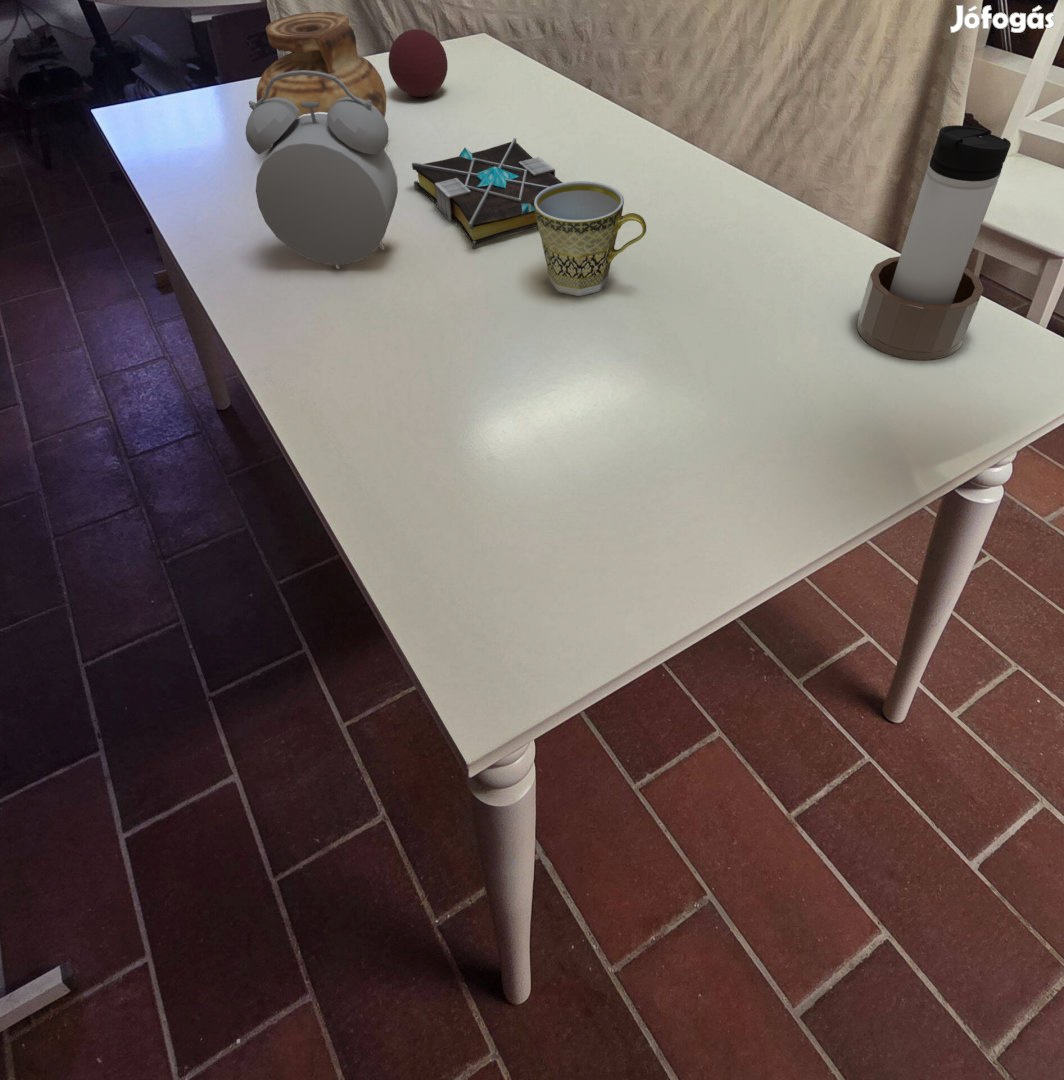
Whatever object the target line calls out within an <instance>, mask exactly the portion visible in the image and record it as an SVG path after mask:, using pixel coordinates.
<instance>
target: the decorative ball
mask: <svg viewBox="0 0 1064 1080" xmlns="http://www.w3.org/2000/svg"><path fill="white" fill-rule="evenodd" d="M448 65H449V64H448V57H447V53H446V51H445V48H444V46H443V44H442V43H441V41H440V40H439V39H438V38H437V37H436V36H435V35H433V34H432V33H431V32H429V31H426V30H424V29H420V28H419V29H417V28H412V29H409V30H405V31H404V32H402V33H401V34H398V36H397V37H396V38H395V40H394V41H393V43H392V44H391V47H390V49H389V52H388V69H389V74H390V75H391V78H392V80H393V82H394V83H395V85H396V87H398V88H399V89H400V91H403V93H405V94H407V95H409V96H412V97H415V98H424V97H429V96H431V95H433V94H434V93H436V92H437V91H439V89H441V87H442V86H443V84H444V82H445V80H446V77H447V74H448V67H449V66H448Z"/></svg>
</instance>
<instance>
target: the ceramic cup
mask: <svg viewBox="0 0 1064 1080" xmlns="http://www.w3.org/2000/svg"><path fill="white" fill-rule="evenodd" d="M624 203H625V199H624V196H623V194H622V193H621V192H620V191H619V190H618V189H617V188H614V187H613V186H611V185H608V184H606V183H601V182H597V181H590V180H589V181H588V180H574V181H567V182H566V181H564V182H563V183H560V184H556V185H553V186H550V187H548V188H546V189H544V190H543V191H541V192H540V193H539V194H538V195H537V196H536V198H535V201H534V207H535V214H536V219H537V224H538V227H537V229H538V233H539V236H540V240H541V243H542V249H543V255H544V259H545V263H546V268H547V269H546V270H547V273H548V277H549V282H550V284H552V286H553V287H554V288H555V289H556V291H557V292H558V293H561V294H565V295H566V294H567V295H572V296H576V297H583V296H586V295H590V294H594V293H599V292H601V290H603V288H604V287H605V285H606V284H607V283H608V279H609V273H610V269H611V264H612V262H613V260H614V259H615V257H616V256H617V255H619V254H621V253H622V252H624V251H625V250H626V249H627V248H629V247H630V246H631V245H634V244H635V243H637V242H639V241H640V240H642V239H643V237H644V236H645V235H646V232H647V222H646V221H645V219H644V217H643V216H642V215H640V214H638V213H635V212H629V213H626V214H624V215H623V210H624ZM631 221H633V222H636V223H639V224H640V225H641V229H642V231H641V233H640V234H639V235H638V236H637V237H635V238H632V239H631V240H629V241H627V242H626V243H625V244H623V245H622V246H621V247H620V248H618V249H616V248H615V246H616V241H617V237H618V233H619V231H620V229H621V228H622V226H623V225H624V224H625V223H628V222H631Z"/></svg>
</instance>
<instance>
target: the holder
mask: <svg viewBox="0 0 1064 1080" xmlns="http://www.w3.org/2000/svg"><path fill="white" fill-rule="evenodd" d="M899 258H900V255H898V256H893V257H889V258H888V257H887V258H886V259H884V260H882V261H880V262H879V263H877V264H875V266H874V267H873V269H872V270H871V272H870V274H869V277H868V281H867V284H866V287H865V291H864V294H863V299H862V301H861V306H860V309H859V313H858V319H857V323H856V327H857V331H858V333H859V335H860V337H861V338H862V339H863V340H864V342H866V343H867V344H868V345H870V346H871V347H873V348H874V349H876V350H877V351H880V352H882V353H885V354H887V355H889V356H892V357H896V358H901V359H905V360H911V361H912V360H913V361H933V360H938V359H942V358H945V357H948V356H950V355H953V354H954V353H955V352H957V351H958V349H959V348H960V347H961V346H962V344H963V341H964V339H965V336H966V334H967V332H968V329H969V327H970V324H971V322H972V320H973V317H974V315H975V312H976V309H977V307H978V305H979V302H980V300H981V297H982V294H983V292H984V291H985V290H984V289H985V288H984V286H983V284H982V282H981V280H980V277H978V276H977V275H976V274H974V272H972V271H971V270H970V269H969V268H967V267H966V268H965V270H964V273H963V276H962V278H961V281H960V284H959V286H958V289H957V292H956V294H955V297H954V300H953V302H952V304H949V305H924V304H920V303H916V302H911V301H907V300H904V299H902V298H900V297H898V296H896V295H894V294H891V293H890V292H889V291H890V287H891V284H892V281H893V278H894V274H895V271H896V268H897V265H898V262H899Z"/></svg>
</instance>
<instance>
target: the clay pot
mask: <svg viewBox="0 0 1064 1080" xmlns="http://www.w3.org/2000/svg"><path fill="white" fill-rule="evenodd" d="M354 30H355V29H353V28H352V26H350V19H349V17H348V16H346V15H345V14H342V13H340V12H335V11H315V12H302V13H295V14H292V15H289V16H283V17H281V18H278V19H276V20H273V21H271V22H269V23H268V24H267V25H266V27H265V33H266V37H267V40H268V45H269V46H271V47H272V48H274V49H276V50H278V51H281V52H282V51H283V52H284V53H286V52H290V53H286V54H284V55H282V56H280V57H279V59H277V60H275V61H274V62H273V63H271V64H270V65H269V66H268V67H267V68H266V69H265V70H264V71H263V73H262V74H261V76H260V78H259V80H258V83H257V85H256V86H257V87H256V103H257V102H258V101H259V100H260V99H262V98H263V96H264V95H265V93H266V87H267V85H268V83H269V82H270V81H271V79H272V78H273V77H274V76H277V75H279V74H281V73H286V72H290V71H299V70H307V71H316V72H322V73H326V74H329V75H332V76H335V77H336V78H338V79H339V80H340V81H341V82H342V83H344V84H345V86H346V87H347V89H348V90H349V91H350V92H351V93H352V94H353V95H354V96H355V97H357V98H361V99H364V100H366V101H368V100H371V102H372V105H373V106H375V107H376V108H377V109H378V110H379V111H380V112H381V114H382V115H383V117H384V119H385V118H386V113H387V92H386V88H385V83H384V81H383V78H382V76H381V74H380V73H379V71H378V70H377V68H376V67H375V66H374V65H373V64H372V63H371V62H370V61H369V60H368V59H367V58H365V57H364V56H362V55H361V54H358V51H357V49H358V48H357V38H356V35H355V31H354ZM275 97H280V98H285V99H287V100H289V101H291V102H292V103H294V104H295V105H296V107H297V108H298V109H299V110H300V111H299V113H298V115H297V117H296V118H298V117H300V116H302V115H304V114H310V109H309V108H303V107H302V106H301V103H302V102H319V107H318V108H313V110H314V113H317V112H325V113H328V111H329V108H330V107H331V106H332V105H333V104H334V103H335V102H336V101H337V100H338V99H340V98H343V97H349V96H348V95H347V94H346V92H345V91H344V90H343V89H342V88H341V87H340V86H339V85H338V84H337V83H335V82H334V81H333V80H330V79H327V78H324V77H317V76H309V75H298V76H291V77H285V78H281V79H279V80H277V81H275V82H274V83H273V85H272V86H271V88H270V91H269V95H268V96H267V98H266V100H267V99H270V98H275ZM296 118H295V119H296ZM385 120H386V119H385Z"/></svg>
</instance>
